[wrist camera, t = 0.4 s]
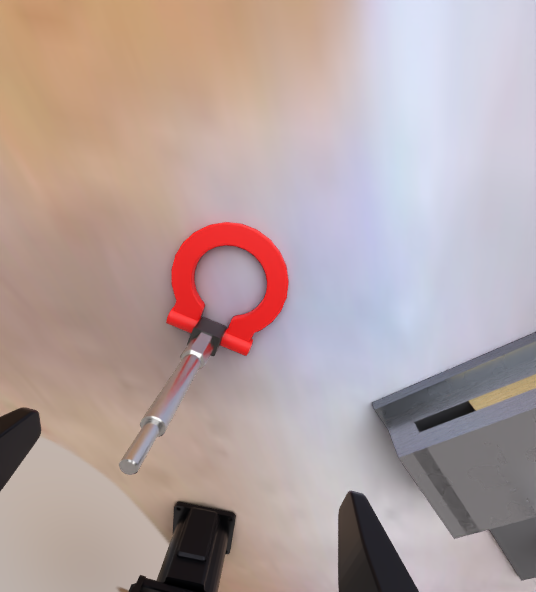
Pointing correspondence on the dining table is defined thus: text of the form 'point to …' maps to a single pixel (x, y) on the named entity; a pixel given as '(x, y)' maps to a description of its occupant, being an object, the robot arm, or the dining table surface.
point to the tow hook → (207, 323)
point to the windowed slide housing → (472, 438)
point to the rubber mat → (519, 546)
